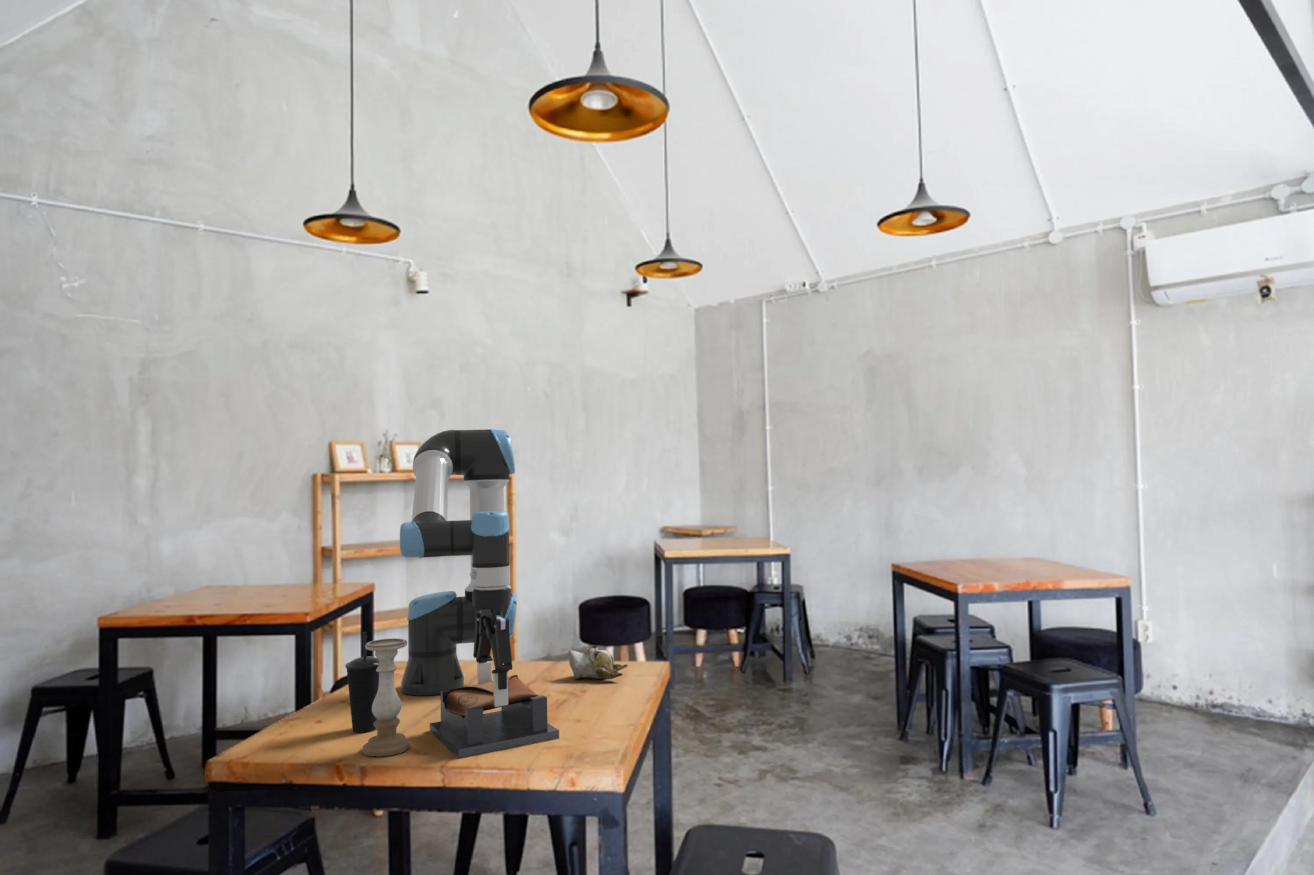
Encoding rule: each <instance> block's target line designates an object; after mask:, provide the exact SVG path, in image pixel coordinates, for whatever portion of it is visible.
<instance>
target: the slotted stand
mask: <svg viewBox="0 0 1314 875" xmlns="http://www.w3.org/2000/svg"><path fill="white" fill-rule="evenodd" d="M454 689H455V688H454ZM450 690H452V689H448V690H441V694H440V721H436V722H431V723H429V732H431V734H432V735H434V736H435V737H436V738H437V739H438V740H439V741H440V742H441V743H442V744H443V745H444V746H445V747H446V748H447V749H448V750H449V751H451V752H452V753H453V755H455V756H456V757H457V758H458V759H462V758H467V757H471V756H476V755H481V754H486V753H491V752H496V751H497V752H498V751H501V750H505V749H512V748H516V747H521V746H526V745H530V744H536V743H540V742H541V743H542V742H547V741H552V740H555V739H560V730H559V729H557V728H556V727H555V726H553V725H551V724H550V723H548V697H547V696H546V695H539V696H536V697H532V698H530V699H528V700H526V701H523V702H519V703H516V704H512V705H507V706H503V707H500V708H501V710H498V711H492V712H486V713H484V711H483V708H482V707H481V706H479V707H473V708H467V709H465V716H462V715H456V714H453V713H451V712H449V711H446V709H445V706H444V699H445V696H446V694H447V693H448V692H449V691H450Z"/></svg>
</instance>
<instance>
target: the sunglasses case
mask: <svg viewBox="0 0 1314 875" xmlns="http://www.w3.org/2000/svg"><path fill="white" fill-rule="evenodd" d="M538 696H540V695H539V694H537V693H535V692H534V691H533V690H532V689H531V688H530V687H529V686H527V684H525V683H524V682H523V681H522V679H520V678H519V676H518V674H513V675H510V676H508V705H512V704H516V703H519V702H523V701H526V700H528V699H530V698H532V697H538ZM444 706H445V709H446V711H449V712H451V713H453V714H456V715H462V716H465V709H467V708H473V707H479V706H481V707H482V708H483V712H486V711H490V710H493V709H495V710H496V709H499V708H501V707H503V706H499V707H494V688H493V680H491V681H490V682H485V683H481V684H478V683H477V684H473V685H466V686H463V687H459V688H455V689H452V690H450V691H449V692H448V693H447V694H446V696H445V699H444ZM504 706H507V705H504Z"/></svg>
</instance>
